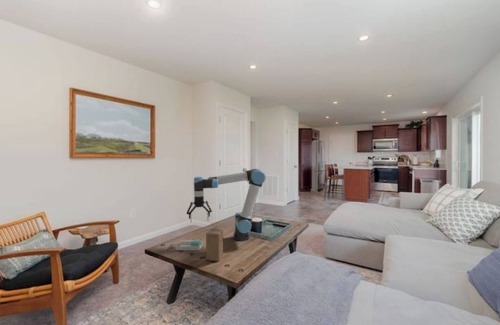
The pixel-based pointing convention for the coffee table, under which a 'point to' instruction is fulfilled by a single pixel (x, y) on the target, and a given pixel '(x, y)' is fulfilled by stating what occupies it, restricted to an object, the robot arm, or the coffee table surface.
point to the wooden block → (214, 244)
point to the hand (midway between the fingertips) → (199, 221)
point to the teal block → (196, 242)
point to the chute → (188, 246)
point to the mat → (169, 247)
